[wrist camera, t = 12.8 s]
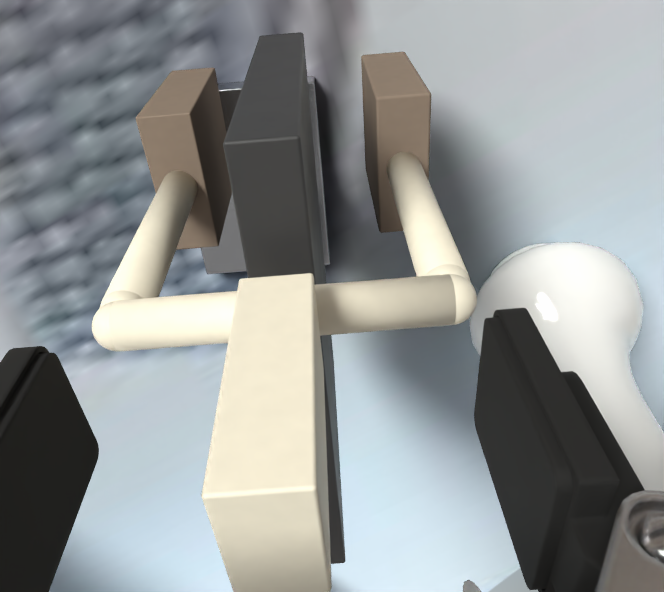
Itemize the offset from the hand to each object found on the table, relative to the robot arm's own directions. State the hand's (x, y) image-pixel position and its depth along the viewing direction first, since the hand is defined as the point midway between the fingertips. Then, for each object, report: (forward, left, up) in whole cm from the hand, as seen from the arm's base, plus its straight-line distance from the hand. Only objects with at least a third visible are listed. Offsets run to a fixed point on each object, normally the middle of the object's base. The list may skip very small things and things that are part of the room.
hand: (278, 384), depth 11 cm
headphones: (0, 0, -16) cm, 16 cm away
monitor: (-2, -4, -20) cm, 20 cm away
